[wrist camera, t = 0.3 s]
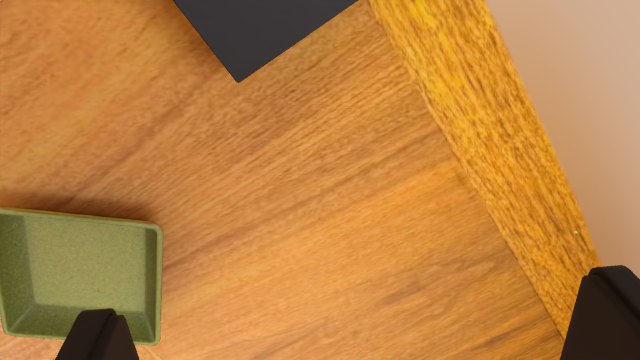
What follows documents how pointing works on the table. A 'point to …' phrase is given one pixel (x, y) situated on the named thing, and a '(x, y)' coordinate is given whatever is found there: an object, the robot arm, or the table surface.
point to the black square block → (256, 27)
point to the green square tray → (78, 272)
